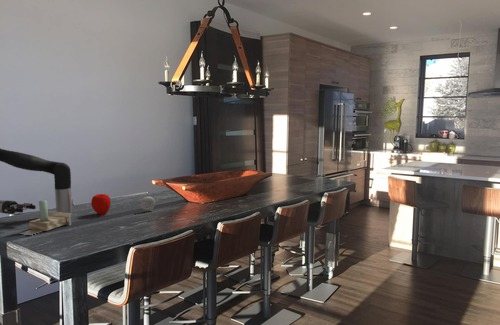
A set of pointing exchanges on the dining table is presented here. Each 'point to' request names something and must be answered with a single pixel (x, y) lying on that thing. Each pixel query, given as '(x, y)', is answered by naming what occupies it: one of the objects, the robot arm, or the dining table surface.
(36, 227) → the socket block
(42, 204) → the dowel
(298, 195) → the dining table surface
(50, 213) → the rail base
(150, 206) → the donut
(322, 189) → the dining table surface
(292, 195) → the dining table surface
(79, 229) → the dining table surface
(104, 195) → the apple
